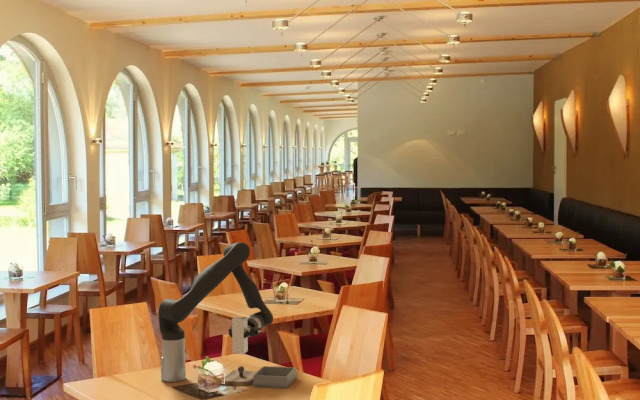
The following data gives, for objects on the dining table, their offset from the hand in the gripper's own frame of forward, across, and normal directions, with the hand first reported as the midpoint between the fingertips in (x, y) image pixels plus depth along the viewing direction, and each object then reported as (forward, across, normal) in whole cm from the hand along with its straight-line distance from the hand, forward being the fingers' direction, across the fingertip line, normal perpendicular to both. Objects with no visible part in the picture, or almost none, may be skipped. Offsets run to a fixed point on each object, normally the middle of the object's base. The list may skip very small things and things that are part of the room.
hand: (237, 335), depth 312 cm
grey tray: (-1, +15, +19) cm, 24 cm away
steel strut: (-3, 0, +8) cm, 8 cm away
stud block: (-3, 0, +19) cm, 19 cm away
